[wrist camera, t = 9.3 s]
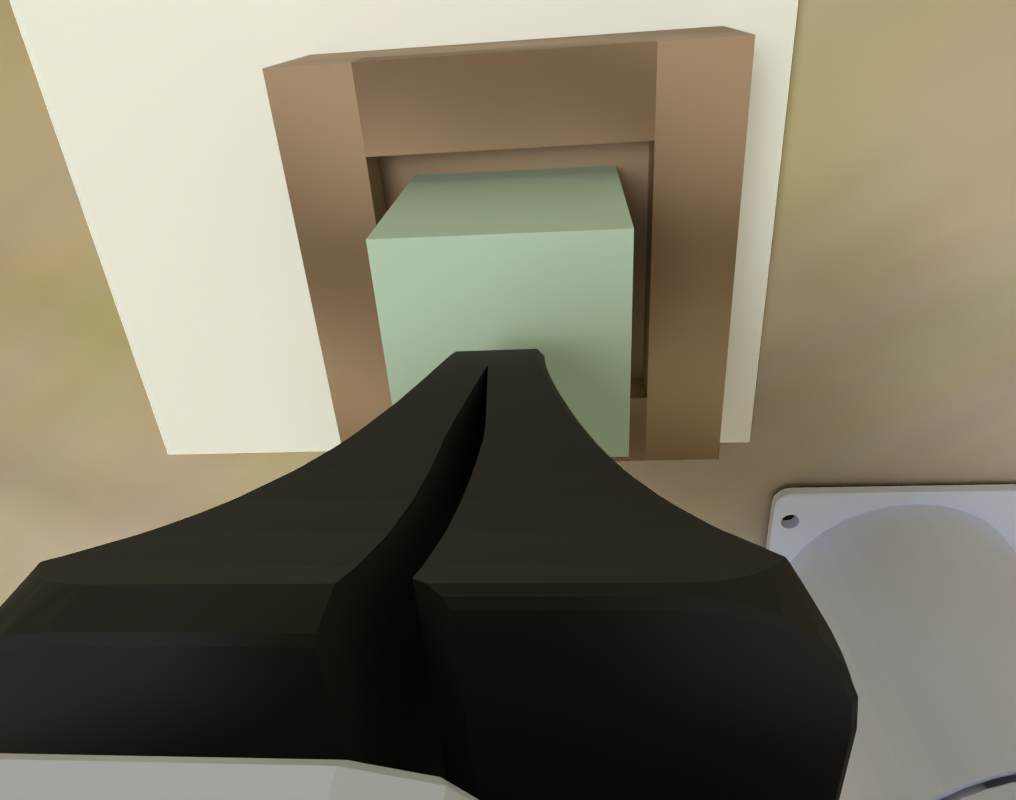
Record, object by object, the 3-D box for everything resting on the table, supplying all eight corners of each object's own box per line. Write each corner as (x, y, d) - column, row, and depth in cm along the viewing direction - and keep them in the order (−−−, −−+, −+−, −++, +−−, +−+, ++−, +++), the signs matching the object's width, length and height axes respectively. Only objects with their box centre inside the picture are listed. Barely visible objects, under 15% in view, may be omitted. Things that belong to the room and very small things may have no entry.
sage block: (613, 349, 17) (628, 456, 13) (436, 353, 18) (401, 459, 14) (615, 164, 15) (633, 228, 11) (415, 175, 16) (365, 238, 12)
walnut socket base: (698, 396, 20) (718, 458, 17) (372, 405, 21) (345, 466, 18) (723, 25, 16) (755, 34, 13) (309, 55, 16) (262, 68, 14)
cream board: (743, 427, 21) (749, 442, 21) (180, 440, 23) (168, 454, 22) (880, -883, 11) (902, -942, 10) (-202, -695, 12) (-249, -737, 11)
